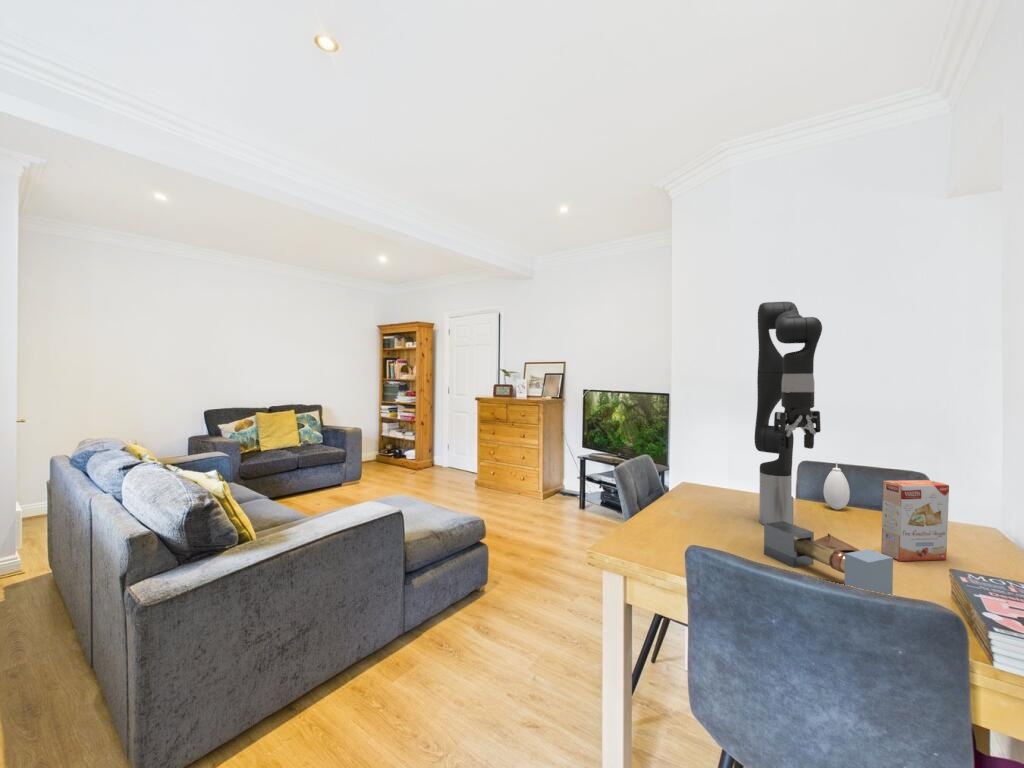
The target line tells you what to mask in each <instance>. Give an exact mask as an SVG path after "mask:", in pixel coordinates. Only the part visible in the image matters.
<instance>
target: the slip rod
mask: <svg viewBox="0 0 1024 768" xmlns="http://www.w3.org/2000/svg"><path fill="white" fill-rule="evenodd" d="M797 553H800V554H802V555H804V556H807V557H809V558H812V559H814V560H815V561H817V562H819V563H821V564H824V565H826V566H828V567H830V568H831V569H833V570H835V571H837V572H839V573H842V574H845V553H843V552H840V551H834V550H832V549H829V548H827V547H824V546H821V545H819V544H816V543H813V542H811V541H808V540H805V539H803V538H801V539H797ZM814 560H813V561H814Z"/></svg>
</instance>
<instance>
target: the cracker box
mask: <svg viewBox="0 0 1024 768" xmlns="http://www.w3.org/2000/svg"><path fill="white" fill-rule="evenodd" d="M882 484H883V485H882V517H881V546H880V547H881V552H880V553H881V554H884V555H887V556H890V557H893V560H894V559H895V560H896V561H899V562H908V561H909V562H910V561H912V562H913V561H914V562H915V561H918V562H920V561H946V560H947V554H948V553H947V551H948V550H947V549H948V524H949V502H950V499H949V497H950V485H948V484H946V483H944V482H940V481H939V482H938V481H935V480H934V481H933V480H930V479H921V480H920V479H917V480H916V479H912V480H911V479H910V480H907V479H906V480H900V479H899V480H883V482H882Z"/></svg>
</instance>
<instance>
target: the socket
mask: <svg viewBox="0 0 1024 768" xmlns="http://www.w3.org/2000/svg"><path fill="white" fill-rule="evenodd" d="M893 575H894V558H893V557H890V556H887V555H885V554H883V553H881V552H878V551H876V550H872V549H870V548H867V549H863V550H860V551H856V552H850V553H845V573H844V584H845V585H849V586H853V587H856V588H861V589H864V590H869V591H874V592H879V593H884V594H891V595H893V592H894V590H893V589H894V588H893V584H894V583H893V580H894V576H893Z"/></svg>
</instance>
